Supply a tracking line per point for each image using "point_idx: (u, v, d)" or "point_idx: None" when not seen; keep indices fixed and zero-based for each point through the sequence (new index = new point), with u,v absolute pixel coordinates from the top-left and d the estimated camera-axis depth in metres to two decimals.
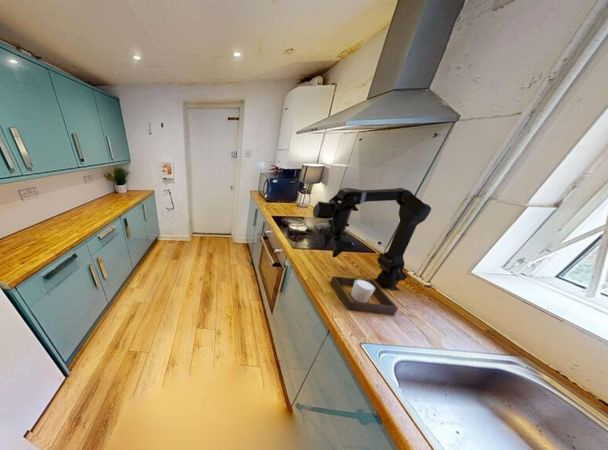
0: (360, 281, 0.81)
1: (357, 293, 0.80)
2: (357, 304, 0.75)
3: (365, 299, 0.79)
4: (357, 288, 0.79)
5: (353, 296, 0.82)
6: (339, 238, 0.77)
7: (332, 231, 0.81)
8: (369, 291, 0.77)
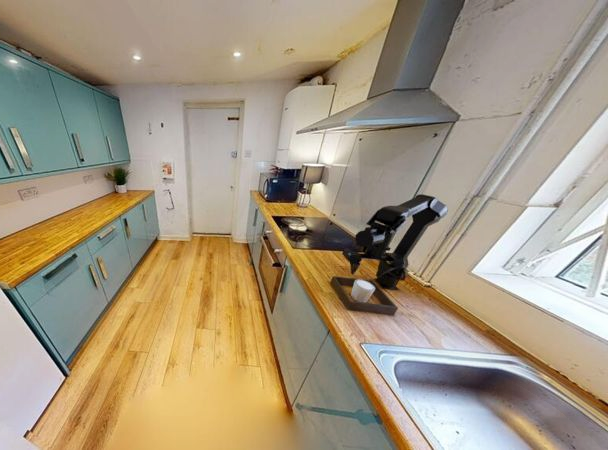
0: (360, 281, 0.81)
1: (357, 293, 0.80)
2: (357, 304, 0.75)
3: (365, 299, 0.79)
4: (357, 288, 0.79)
5: (353, 296, 0.82)
6: (352, 250, 0.77)
7: (362, 247, 0.77)
8: (369, 291, 0.77)
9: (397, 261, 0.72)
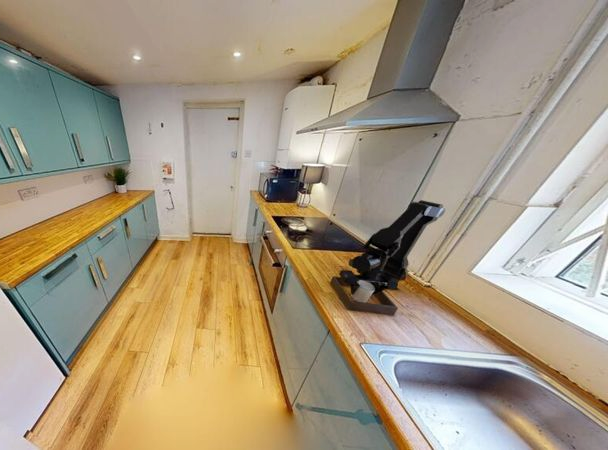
0: (360, 281, 0.81)
1: (357, 293, 0.80)
2: (357, 304, 0.75)
3: (365, 299, 0.79)
4: None
5: (353, 296, 0.82)
6: (348, 271, 0.80)
7: None
8: (369, 291, 0.77)
9: (391, 283, 0.75)
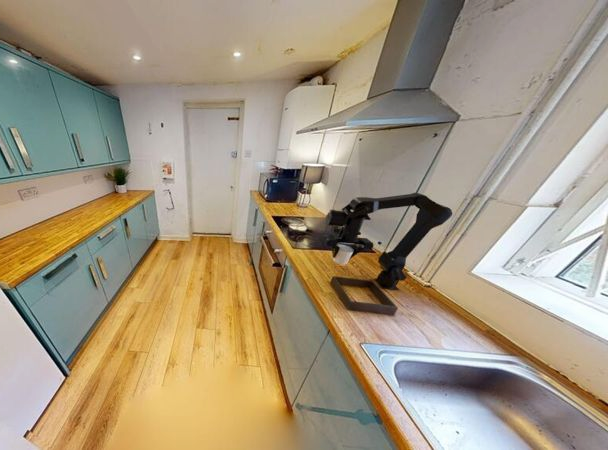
0: (341, 245, 0.90)
1: (338, 256, 0.88)
2: (357, 304, 0.75)
3: (345, 261, 0.87)
4: (338, 251, 0.88)
5: (335, 259, 0.90)
6: (330, 235, 0.88)
7: (338, 233, 0.89)
8: (348, 252, 0.85)
9: (367, 244, 0.83)
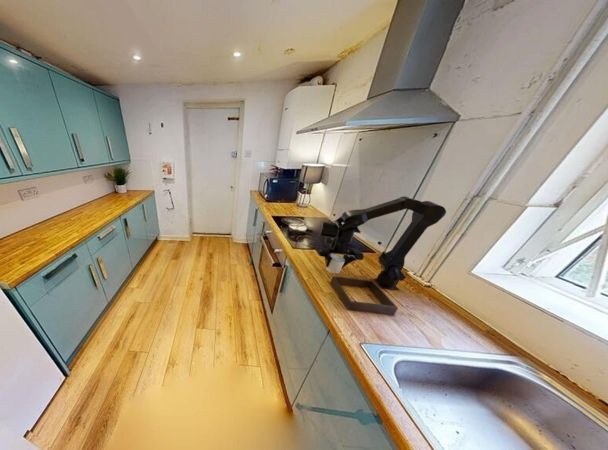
0: (333, 255, 0.95)
1: (330, 265, 0.93)
2: (357, 304, 0.75)
3: (337, 270, 0.92)
4: (330, 261, 0.92)
5: (327, 268, 0.95)
6: (323, 246, 0.93)
7: (331, 244, 0.93)
8: (340, 262, 0.90)
9: (358, 255, 0.88)
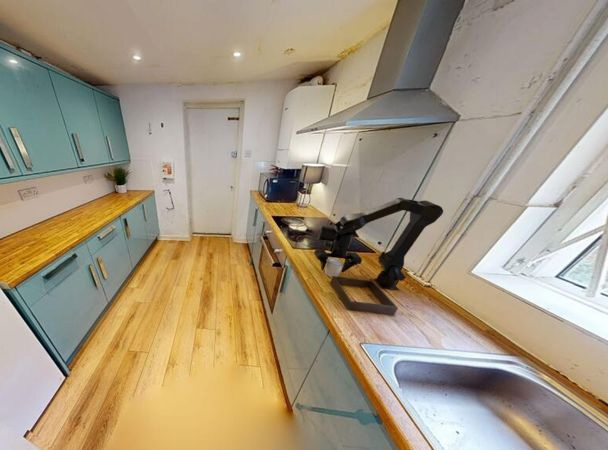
0: (332, 259, 0.96)
1: (329, 269, 0.94)
2: (357, 304, 0.75)
3: (335, 274, 0.93)
4: (329, 265, 0.93)
5: (326, 272, 0.96)
6: (321, 250, 0.94)
7: (329, 247, 0.94)
8: (338, 267, 0.91)
9: (356, 259, 0.89)
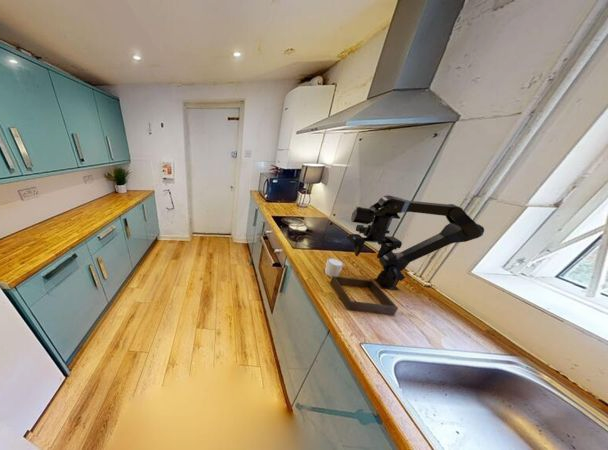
0: (332, 259, 0.96)
1: (329, 269, 0.94)
2: (357, 304, 0.75)
3: (335, 274, 0.93)
4: (329, 265, 0.93)
5: (326, 272, 0.96)
6: (356, 234, 0.87)
7: (364, 232, 0.88)
8: (338, 267, 0.91)
9: (395, 243, 0.82)
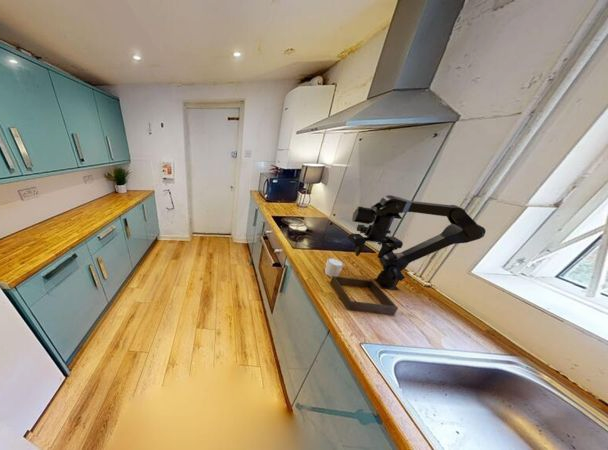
0: (332, 259, 0.96)
1: (329, 269, 0.94)
2: (357, 304, 0.75)
3: (335, 274, 0.93)
4: (329, 265, 0.93)
5: (326, 272, 0.96)
6: (357, 234, 0.87)
7: (365, 231, 0.88)
8: (338, 267, 0.91)
9: (396, 243, 0.82)
